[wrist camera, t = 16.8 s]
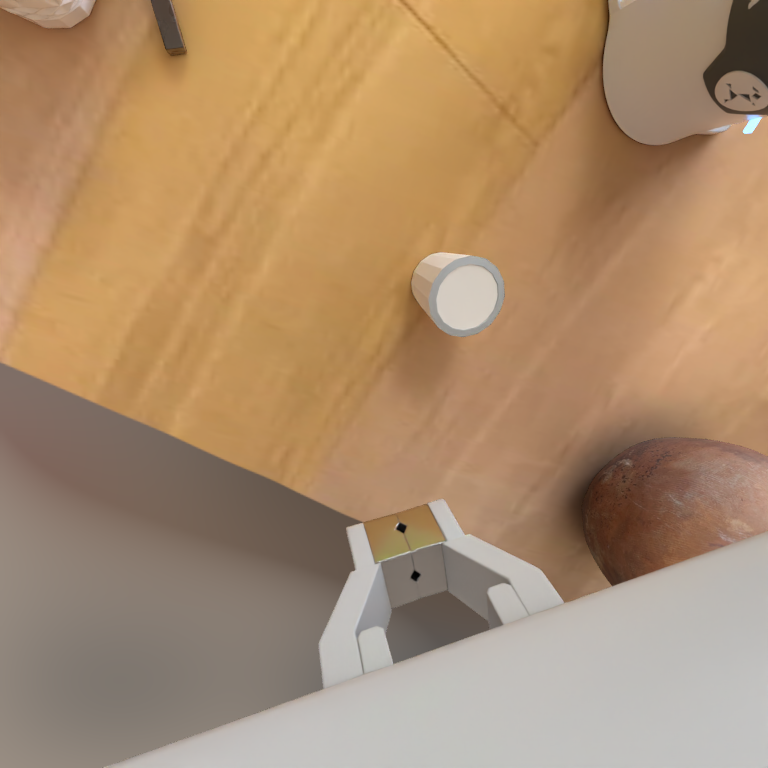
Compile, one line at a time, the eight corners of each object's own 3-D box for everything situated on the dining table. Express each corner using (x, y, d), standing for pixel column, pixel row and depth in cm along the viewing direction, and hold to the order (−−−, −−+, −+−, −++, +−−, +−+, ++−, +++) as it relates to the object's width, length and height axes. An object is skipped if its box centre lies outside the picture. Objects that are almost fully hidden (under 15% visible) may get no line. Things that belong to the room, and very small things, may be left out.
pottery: (604, 564, 68) (770, 749, 45) (520, 495, 57) (682, 689, 35) (721, 461, 65) (960, 605, 42) (654, 368, 54) (924, 493, 32)
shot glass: (393, 302, 43) (415, 322, 37) (423, 233, 41) (451, 242, 35) (452, 325, 45) (482, 347, 39) (483, 261, 43) (519, 274, 37)
